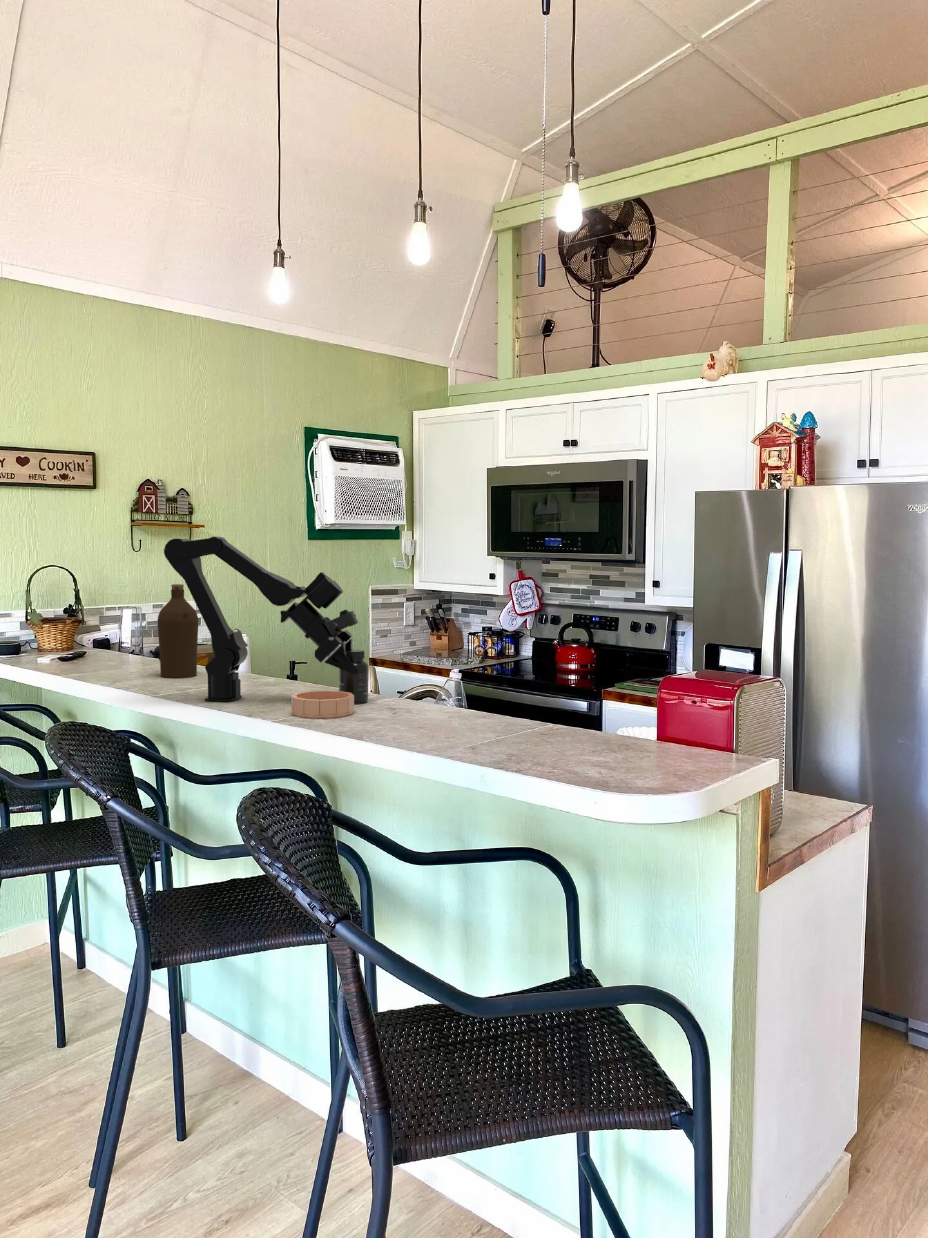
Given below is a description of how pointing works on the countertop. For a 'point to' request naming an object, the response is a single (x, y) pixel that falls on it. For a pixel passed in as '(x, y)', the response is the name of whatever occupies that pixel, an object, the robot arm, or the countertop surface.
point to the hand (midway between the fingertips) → (359, 671)
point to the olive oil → (178, 636)
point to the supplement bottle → (355, 677)
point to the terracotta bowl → (322, 704)
